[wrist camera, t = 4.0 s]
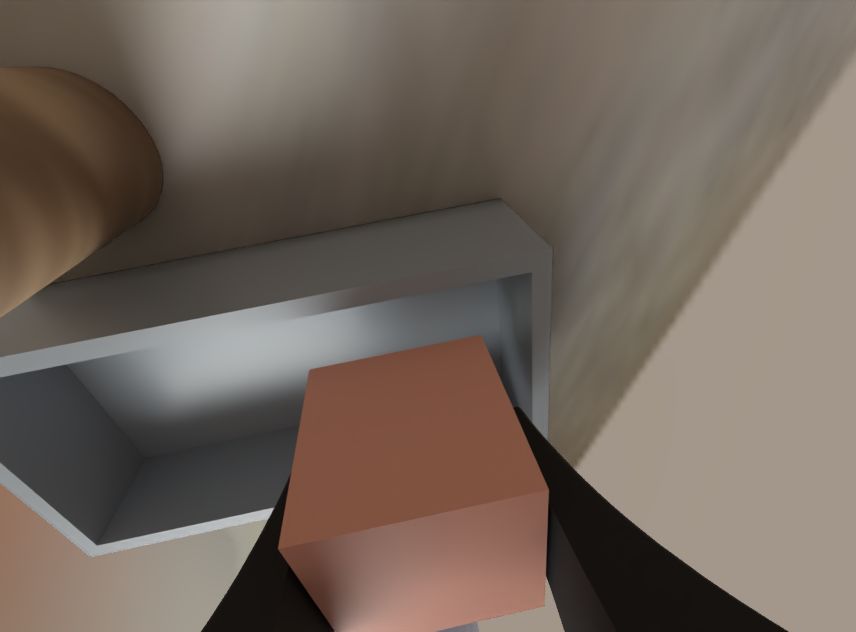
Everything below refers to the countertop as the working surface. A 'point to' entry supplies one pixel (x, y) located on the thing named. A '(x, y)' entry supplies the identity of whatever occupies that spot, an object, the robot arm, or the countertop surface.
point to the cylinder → (65, 175)
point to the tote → (244, 363)
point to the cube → (415, 494)
